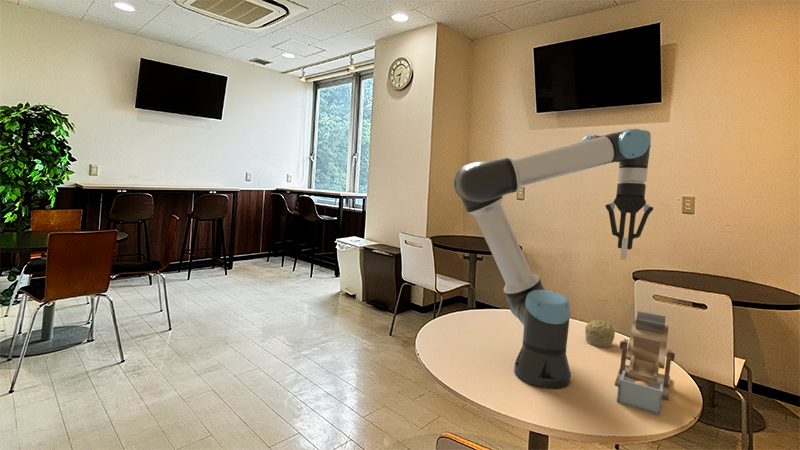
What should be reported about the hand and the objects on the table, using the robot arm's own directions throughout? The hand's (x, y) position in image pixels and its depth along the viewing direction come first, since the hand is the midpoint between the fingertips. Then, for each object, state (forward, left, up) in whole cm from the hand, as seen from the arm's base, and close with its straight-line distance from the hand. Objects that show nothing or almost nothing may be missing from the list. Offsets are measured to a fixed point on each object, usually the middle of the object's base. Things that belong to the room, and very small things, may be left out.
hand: (623, 259), depth 124 cm
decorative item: (+10, +10, -33) cm, 36 cm away
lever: (-6, -12, -24) cm, 27 cm away
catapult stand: (-7, -12, -32) cm, 35 cm away
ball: (-18, -16, -30) cm, 38 cm away
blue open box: (-19, -16, -32) cm, 41 cm away
